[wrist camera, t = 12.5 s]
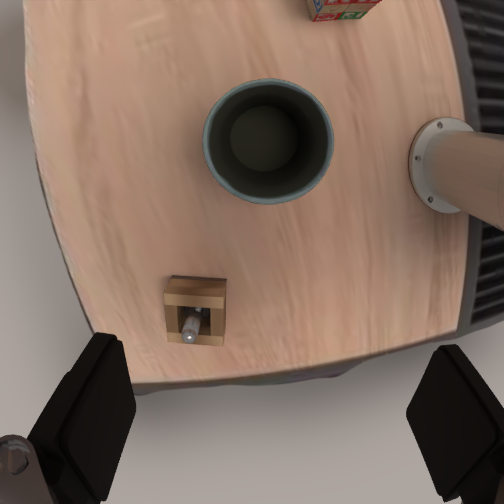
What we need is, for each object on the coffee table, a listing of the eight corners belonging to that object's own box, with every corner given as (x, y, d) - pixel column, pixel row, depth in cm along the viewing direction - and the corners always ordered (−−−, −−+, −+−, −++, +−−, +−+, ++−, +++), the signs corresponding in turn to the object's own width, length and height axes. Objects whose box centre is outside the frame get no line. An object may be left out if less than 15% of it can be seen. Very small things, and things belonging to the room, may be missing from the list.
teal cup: (202, 152, 35) (178, 163, 24) (249, 78, 32) (248, 53, 21) (277, 198, 37) (288, 228, 26) (326, 126, 34) (358, 125, 23)
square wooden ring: (226, 281, 40) (223, 297, 37) (225, 328, 43) (222, 346, 39) (171, 278, 40) (163, 293, 36) (174, 324, 43) (167, 341, 39)
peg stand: (226, 278, 41) (220, 315, 33) (225, 325, 44) (219, 366, 35) (172, 275, 41) (154, 310, 33) (174, 320, 43) (160, 360, 35)
